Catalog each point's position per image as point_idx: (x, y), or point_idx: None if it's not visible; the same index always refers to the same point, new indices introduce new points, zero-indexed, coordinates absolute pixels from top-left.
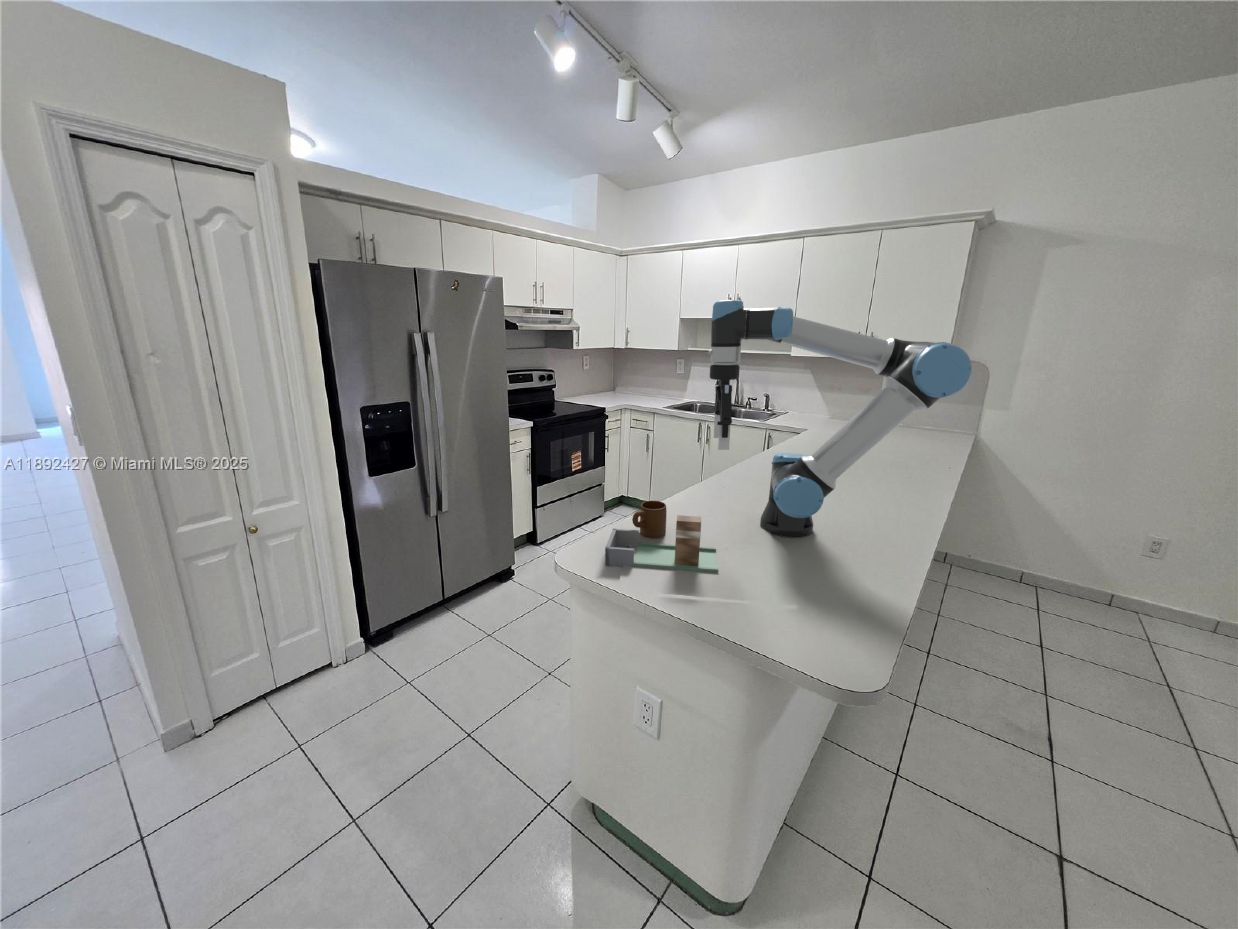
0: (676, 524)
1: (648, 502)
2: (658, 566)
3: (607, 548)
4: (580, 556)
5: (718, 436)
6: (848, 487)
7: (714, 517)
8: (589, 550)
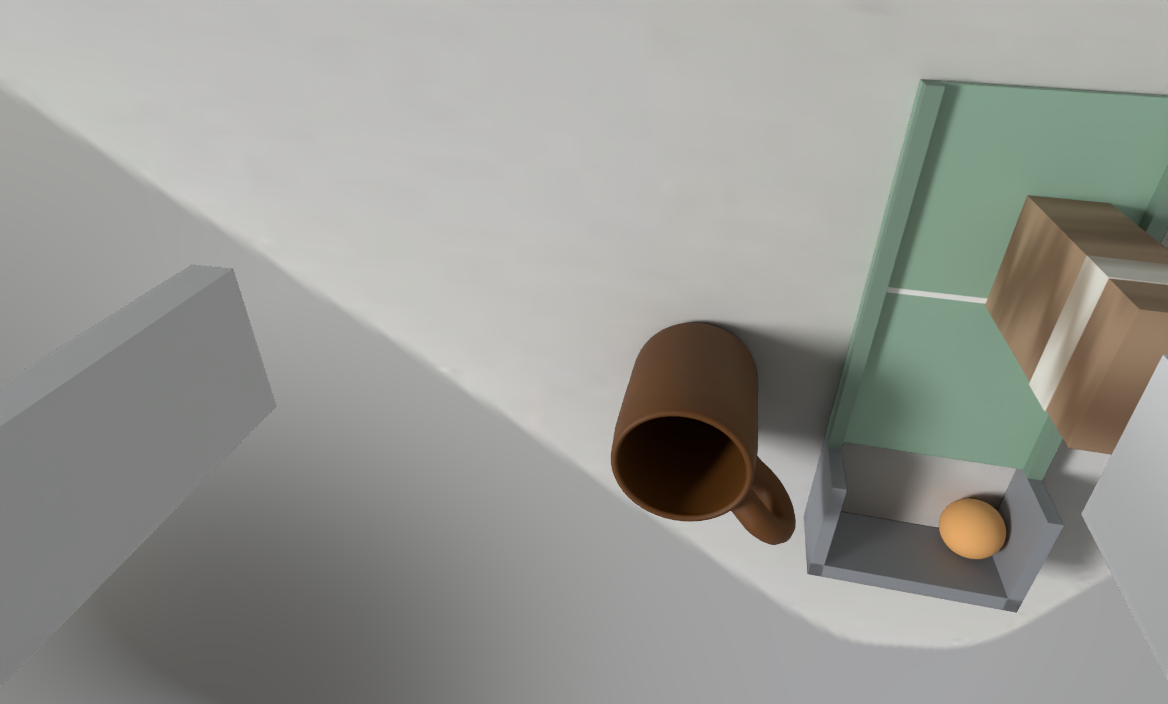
0: None
1: (625, 479)
2: None
3: (1019, 605)
4: (897, 610)
5: (241, 358)
6: None
7: (423, 30)
8: (847, 585)
